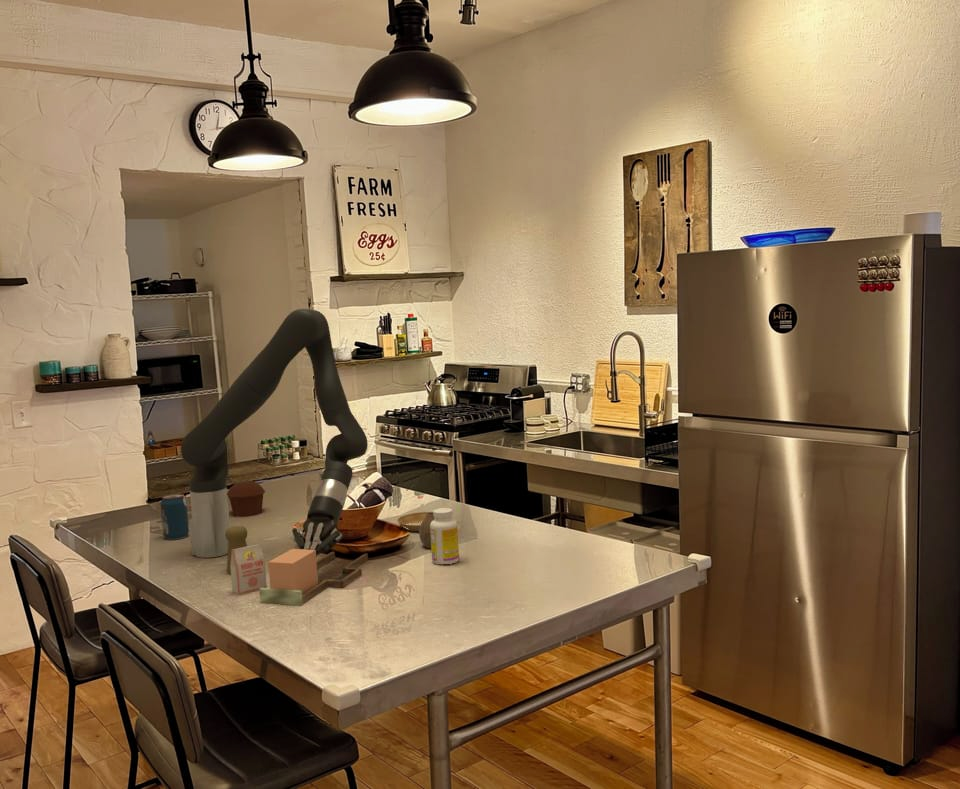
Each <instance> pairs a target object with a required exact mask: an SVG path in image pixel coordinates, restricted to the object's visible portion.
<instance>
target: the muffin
mask: <svg viewBox="0 0 960 789" xmlns="http://www.w3.org/2000/svg"><path fill="white" fill-rule="evenodd" d="M265 492H266V491H265V489H264V488H263V487H262V485H260V483H258V482H256V481H253V480H252V481H251V480H242V481H239V482H236V483H234V484H233V485H232V486H231V487H230V488H229V489H228V490H227V498H228V499H229V502H230V503H229V504H230V507H231V510H232V511H231V512H232V514H233V516H234V517H238V518H243V517H252V516H257V515H259V514H262V513H263V505H264V504H263V502H264V500H263V499H264V494H265Z"/></svg>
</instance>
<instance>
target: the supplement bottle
mask: <svg viewBox="0 0 960 789" xmlns="http://www.w3.org/2000/svg"><path fill="white" fill-rule="evenodd" d="M432 512H433V516H434V517H435V518H434V520H433V521H432V522H431V524H430V533H431V548H430V549H431V560H432V563H433V562H434V563H433V564H435V563H436V564H435V565H438V564H450V565H452V564H451V563H454V564H456V563H457V561H458V562H459V560H460V552H459V536H458V535H459V533H458V522H457V521H456V519H454V518H453V509H452V508H448V507H441V508H436V509H433V510H432ZM455 562H456V563H455Z"/></svg>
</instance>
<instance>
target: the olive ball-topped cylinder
mask: <svg viewBox="0 0 960 789" xmlns="http://www.w3.org/2000/svg"><path fill="white" fill-rule="evenodd" d="M225 536H226V539H227V540H228V554H227V558H226V560H227V561H226V574H227V573H228V575H231V568H230V564H231V555H232V550H233V549H238V548H243V547H247V545H248V544H247V540H246V539H247V538H248V529H247V528H246V527H245V526H243V525H235V526H230V528H228V529H227V530H226V533H225Z"/></svg>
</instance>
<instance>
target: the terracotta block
mask: <svg viewBox="0 0 960 789" xmlns="http://www.w3.org/2000/svg"><path fill="white" fill-rule="evenodd" d="M317 561H318V560H317V558H316V550H304V549H300V548H292V549H290V550H288V551H286V552H284V553H282V554H280V555H279V556H277V557H274V558H272V560H270V561H268V576H269V588H272V589H286V590H300V591H302V595H303V594H305V593H306V592H308V591H309V590H311V589H312V588H314V587H315V586H317V585H318V584H319V579H318V578H319V576H318V569H317Z"/></svg>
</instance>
